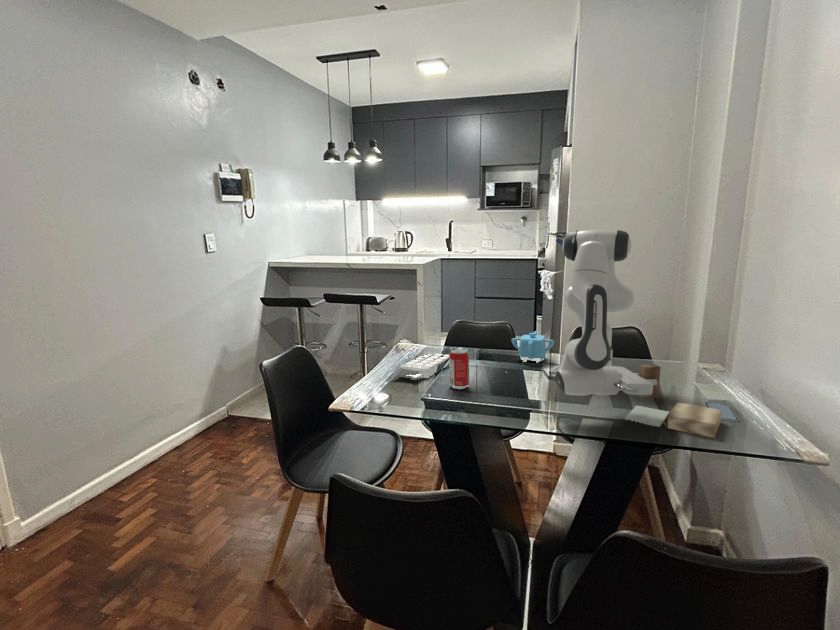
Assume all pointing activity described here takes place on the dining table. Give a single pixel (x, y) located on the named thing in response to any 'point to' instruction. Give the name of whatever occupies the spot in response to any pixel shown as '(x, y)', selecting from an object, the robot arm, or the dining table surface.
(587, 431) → the dining table surface
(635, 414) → the rubber mat
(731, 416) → the smartphone
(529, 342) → the teapot
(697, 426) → the birch block
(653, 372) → the brown wooden upright block
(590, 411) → the dining table surface
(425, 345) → the dining table surface
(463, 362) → the soda can
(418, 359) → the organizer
